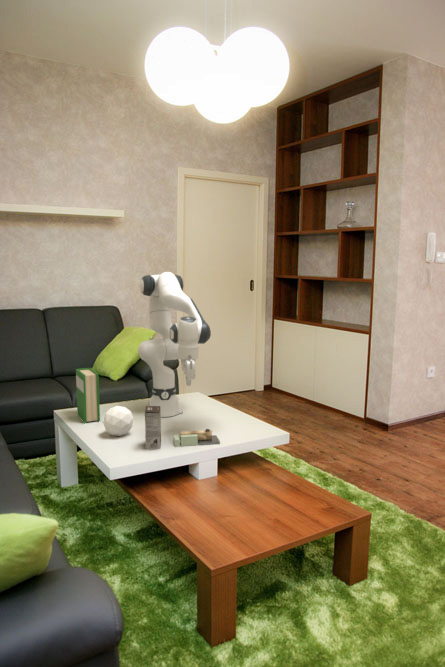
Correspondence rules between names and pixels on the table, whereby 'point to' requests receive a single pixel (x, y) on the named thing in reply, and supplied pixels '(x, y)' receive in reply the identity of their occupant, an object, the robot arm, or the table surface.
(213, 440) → the pin plate
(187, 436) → the seat bracket
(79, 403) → the hardback book
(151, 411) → the coffee box
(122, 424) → the geodesic sphere
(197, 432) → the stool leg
